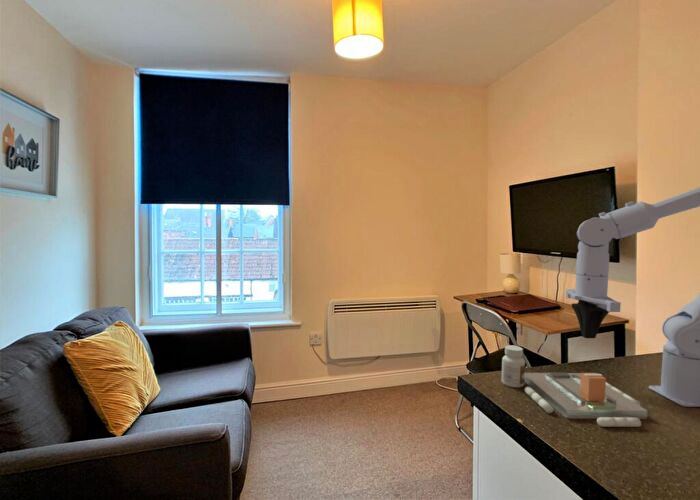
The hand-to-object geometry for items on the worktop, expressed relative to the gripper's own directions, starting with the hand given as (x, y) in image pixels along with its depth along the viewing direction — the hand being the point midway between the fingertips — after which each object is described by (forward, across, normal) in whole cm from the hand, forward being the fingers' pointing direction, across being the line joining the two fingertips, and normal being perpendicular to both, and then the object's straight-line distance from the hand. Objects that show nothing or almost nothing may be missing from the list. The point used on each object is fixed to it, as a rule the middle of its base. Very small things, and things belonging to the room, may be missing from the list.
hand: (588, 337), depth 78 cm
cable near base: (+9, +8, +1) cm, 12 cm away
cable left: (+9, +18, -6) cm, 22 cm away
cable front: (+9, +10, -16) cm, 21 cm away
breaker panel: (+9, +8, -7) cm, 14 cm away
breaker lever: (+8, +12, -7) cm, 16 cm away
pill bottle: (+10, +2, -17) cm, 20 cm away
